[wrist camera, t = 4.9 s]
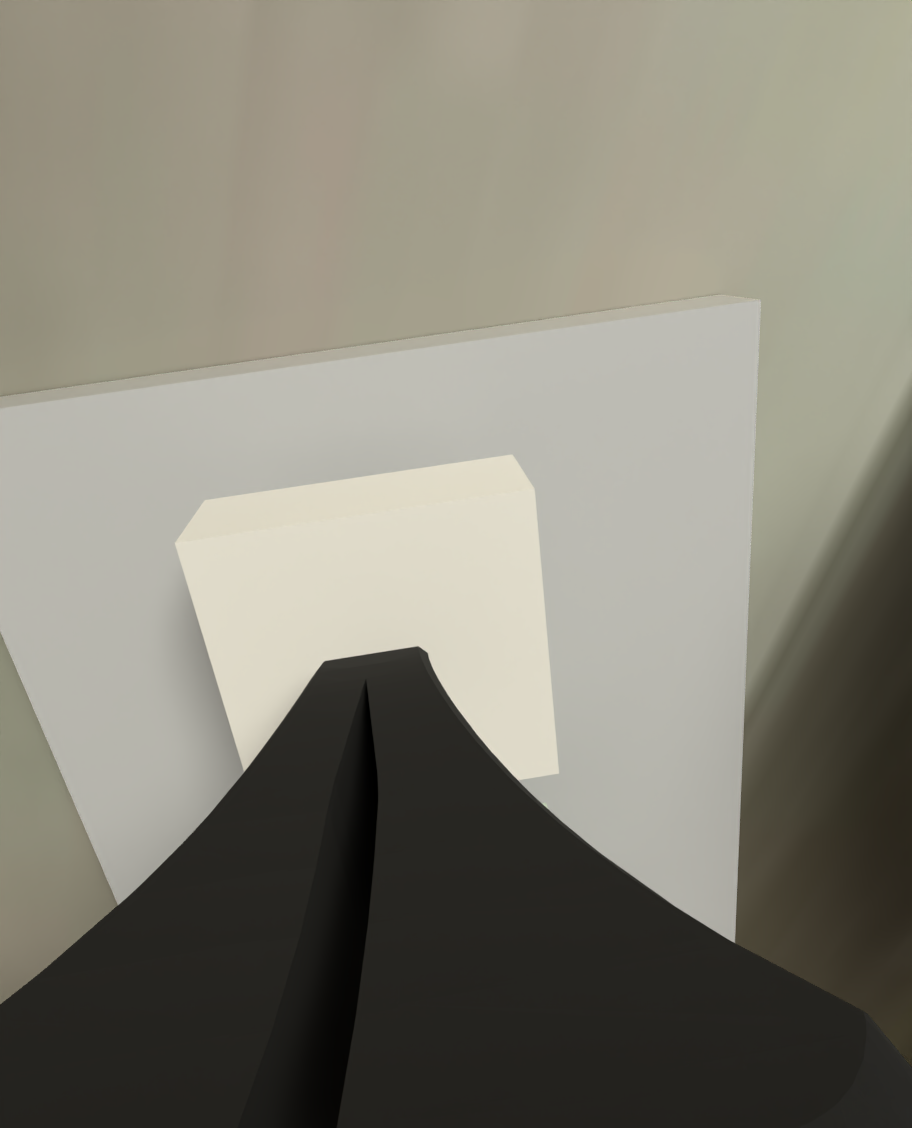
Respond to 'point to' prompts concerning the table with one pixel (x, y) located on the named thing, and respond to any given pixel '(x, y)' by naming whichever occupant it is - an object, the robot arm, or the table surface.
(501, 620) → the ivory key
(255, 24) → the table surface
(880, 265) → the table surface
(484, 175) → the table surface
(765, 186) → the table surface
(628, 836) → the keyboard base
